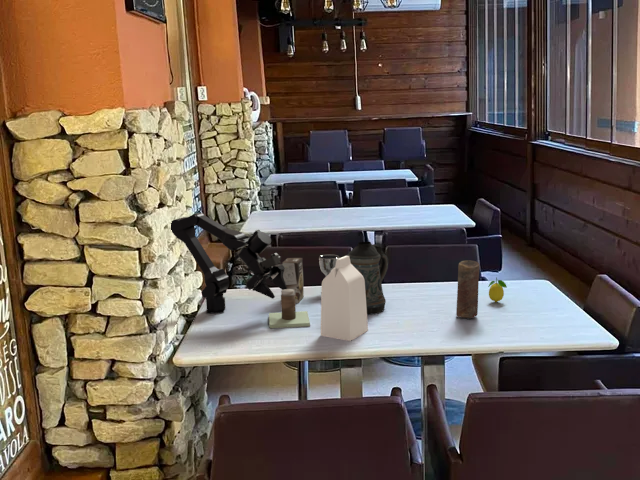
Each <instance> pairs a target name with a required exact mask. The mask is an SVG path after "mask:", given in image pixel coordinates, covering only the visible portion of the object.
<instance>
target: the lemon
mask: <svg viewBox="0 0 640 480" xmlns="http://www.w3.org/2000/svg"><path fill="white" fill-rule="evenodd" d="M495 278H496V279H495V280H491V281H490V282H489V284H488V288H489V289H488V297H489V299H490V300H491V301H493V302H494V303H498V302H499V301H501V300H503V298H504V295H505V291H504V289H505V288H508V287H507V284H506V283H505V281H503V280H502V279H498V277H495Z"/></svg>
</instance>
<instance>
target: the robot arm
mask: <svg viewBox="0 0 640 480" xmlns="http://www.w3.org/2000/svg"><path fill="white" fill-rule="evenodd" d="M171 222H172V223H171ZM171 222H170V224H171V230H172V232H171V233H172V234H173V235H174V236H175V238H176V239H178V240H180V241H181V242H183V243H184V245H185V246H186V248H187V250H188V251H189V253H190V254H191V256H192V257H193V259H194V260H195V262H196V264H197V265H198V267H199V268H200V270H201V271H202V273H203V277H204V278H203V279H204V285H205V287H204V288H203V289H202V290H201V292H200V293H201V295H202V298H205V301H206V305H205V306H206V313H205V314H219V313H220V314H221V313H224V312H225V310H226V297H224V294H226V293H227V290H228V288H229V287H230V279H229V275H228V274H227V273H226V271H225V269H224V268H220V269H219V268H217V267H216V266H215V264H214V262H212V260H211V257H210V256H209V255H208V254H207V251H206V250H205V249H204V247H203V245H202V243H200V241H199V239H198V237H197V236H196V228H195V227H196V226H197V227H198V228H201V229H202V230H204V231H205V232H207V233H208V234H211V235H212V236H214V237H216V238H218V239H219V240H220V241H221V243H222V244H223V246H225V247H226V248H227V249H229V251H232V252H233V251H237V252H235V253H234V261H238V260H241V261H242V262H243V263H244V264H245V266H246V267H247V269H246V271H247V272H248V273H250V272H251V273H252V274H253V275H252V276H251V277H249V279H248V280H247V281H246V282H245V287H246V288H247V289H248V290H249V291H255V292H256V293H257V292H258V293H260V294H262V295H264V296H265V297H268V298H271V299H273V300H274V298H275V297H276V296H275V294H274V293H273V291H272V289H271V288H270V287H269V286H268V284H267V279H269V280H270V282H271V283H272V284H274V285H275V286H276V287H277V288H279V289H280V290H281V291H282V290H284V289H287V286H286V284H285V281H284V278H283V273H284V269H285V267H284V266H283V265H282V262H281V260H282V256H280V254H278V253H277V252H275V253H272V254H270V257H268V258H265V257H261V256H260V255H259V254H262V253H263V251H265V250H266V249H267V247H268V246H269V245H270V244H271V242H272V238H271V237H270V235H269V234H267V233H265V232H263V231H261V230H260V229H256V230H255V231H254V232H253V233H252V235H251V236H249V235H246V233H244V232H241V231H239V230H236V229H230V228H227V227H226V226H224V225H222V224H220V223H218V222H217V221H215V220H213V219H211V218H210V217H209V216H206V215H205V214H204V213H203V212H198V213H193V214H192V215H190V216H183V217H178V218H176V219H173V220H171ZM171 230H170V231H171ZM238 250H240V251H238Z"/></svg>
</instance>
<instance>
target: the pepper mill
mask: <svg viewBox="0 0 640 480" xmlns="http://www.w3.org/2000/svg"><path fill="white" fill-rule="evenodd" d="M280 291H281V292H280V293H281V294H280V302H281V303H280V308H281V309H280V311H281V312H282V319H284V320H293V319H295V318H296V312H297V311H296V309H297V308H296V303H295V294H294V290H293V289H284V290H282V289H281V290H280Z"/></svg>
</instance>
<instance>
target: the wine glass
mask: <svg viewBox="0 0 640 480" xmlns="http://www.w3.org/2000/svg"><path fill="white" fill-rule="evenodd" d="M339 258H340V256H339V255H337V254H322V255H319V257H318V260H319V262H318V263H319V267H320V271H321V273H323V274H324V276H325V277H326V276H327V275H328V274H329V273H330V272H331V270H332V269H333V268H334V267H335V265H336V261H337V259H339Z"/></svg>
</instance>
